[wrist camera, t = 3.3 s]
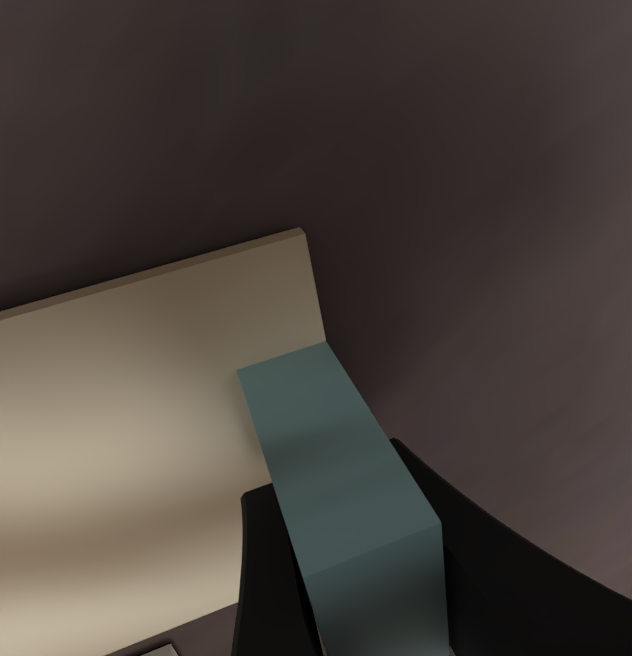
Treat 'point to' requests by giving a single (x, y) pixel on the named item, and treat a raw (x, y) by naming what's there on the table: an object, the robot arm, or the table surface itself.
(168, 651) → the broken strip
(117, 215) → the table surface
